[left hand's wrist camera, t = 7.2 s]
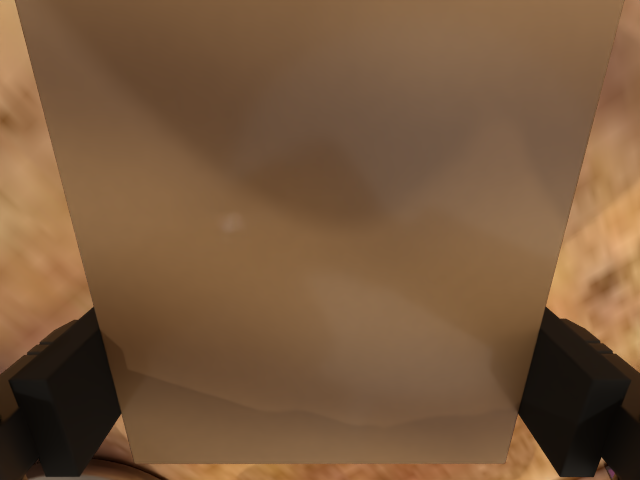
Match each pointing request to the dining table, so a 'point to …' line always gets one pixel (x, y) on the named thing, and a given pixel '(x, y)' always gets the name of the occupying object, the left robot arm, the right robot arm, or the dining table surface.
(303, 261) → the brown rectangular block
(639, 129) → the dining table surface
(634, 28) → the dining table surface
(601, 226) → the dining table surface
